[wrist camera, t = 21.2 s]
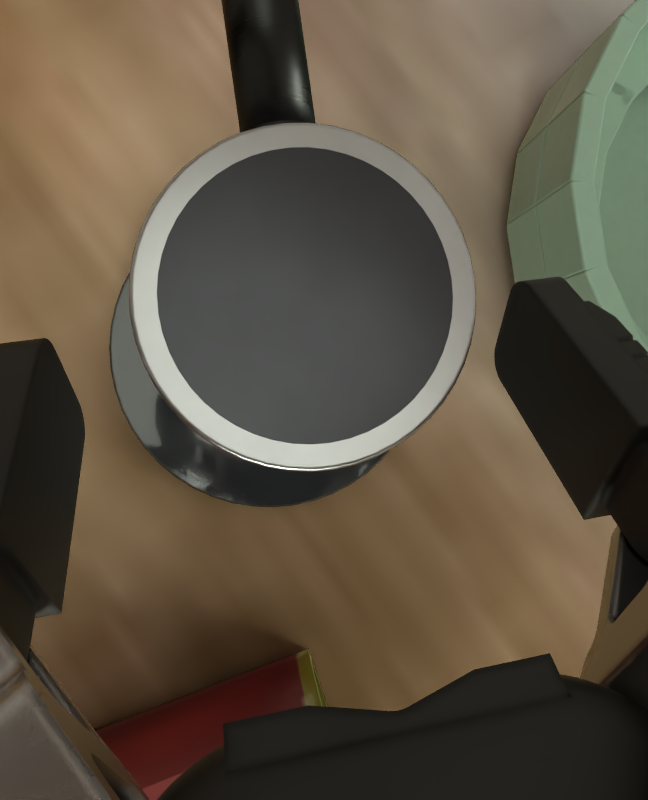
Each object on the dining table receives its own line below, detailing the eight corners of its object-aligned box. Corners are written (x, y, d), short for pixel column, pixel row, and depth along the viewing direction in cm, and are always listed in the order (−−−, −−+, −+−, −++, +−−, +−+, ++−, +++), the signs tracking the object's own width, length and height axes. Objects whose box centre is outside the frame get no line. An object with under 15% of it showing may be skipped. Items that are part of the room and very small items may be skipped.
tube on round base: (364, 420, 18) (500, 444, 8) (209, 444, 18) (155, 499, 8) (317, 81, 18) (398, -310, 8) (158, 92, 18) (35, -317, 8)
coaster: (44, 349, 18) (37, 347, 17) (271, 135, 19) (272, 126, 18) (272, 567, 19) (273, 573, 18) (478, 353, 19) (486, 351, 19)
